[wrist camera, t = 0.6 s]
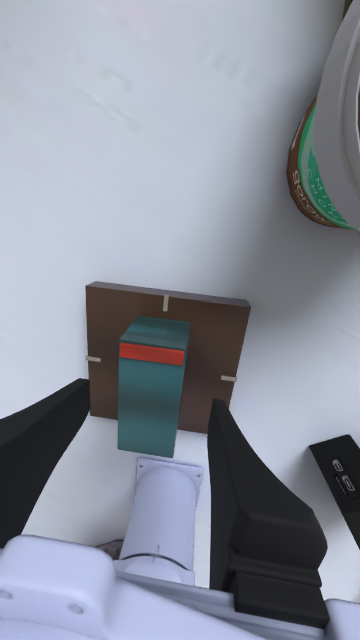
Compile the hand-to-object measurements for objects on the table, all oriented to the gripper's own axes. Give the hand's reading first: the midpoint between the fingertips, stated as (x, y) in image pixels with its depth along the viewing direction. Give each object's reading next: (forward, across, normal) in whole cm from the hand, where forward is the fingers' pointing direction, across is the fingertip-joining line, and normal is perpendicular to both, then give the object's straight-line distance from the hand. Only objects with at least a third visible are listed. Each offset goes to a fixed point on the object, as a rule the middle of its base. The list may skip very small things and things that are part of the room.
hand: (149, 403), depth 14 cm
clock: (+10, +1, +3) cm, 11 cm away
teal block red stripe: (+8, +1, +3) cm, 9 cm away
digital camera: (+10, -21, +14) cm, 27 cm away
